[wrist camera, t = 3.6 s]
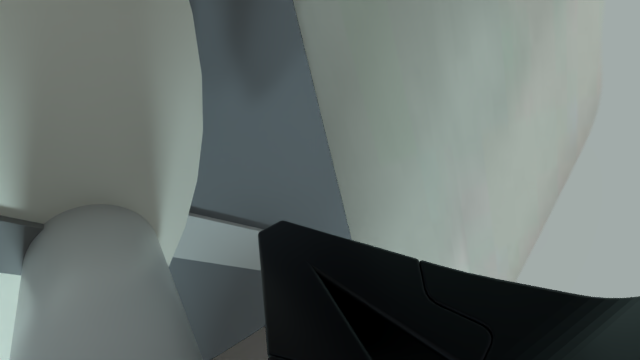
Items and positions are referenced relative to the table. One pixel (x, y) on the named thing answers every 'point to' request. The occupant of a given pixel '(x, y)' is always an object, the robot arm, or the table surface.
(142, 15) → the dial
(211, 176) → the dial board
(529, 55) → the table surface
